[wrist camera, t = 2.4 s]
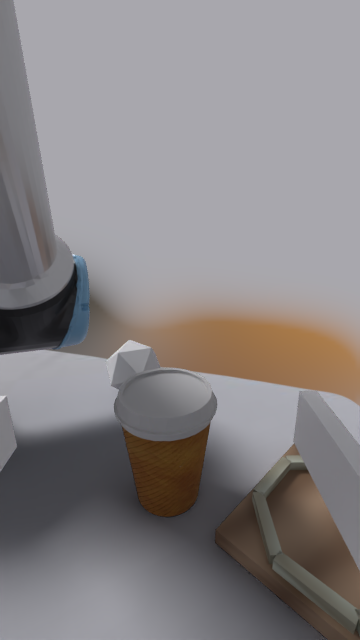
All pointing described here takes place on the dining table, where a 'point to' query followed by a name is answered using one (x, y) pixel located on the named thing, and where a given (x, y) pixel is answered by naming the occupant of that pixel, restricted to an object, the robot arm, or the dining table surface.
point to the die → (130, 362)
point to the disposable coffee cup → (166, 435)
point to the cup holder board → (296, 548)
